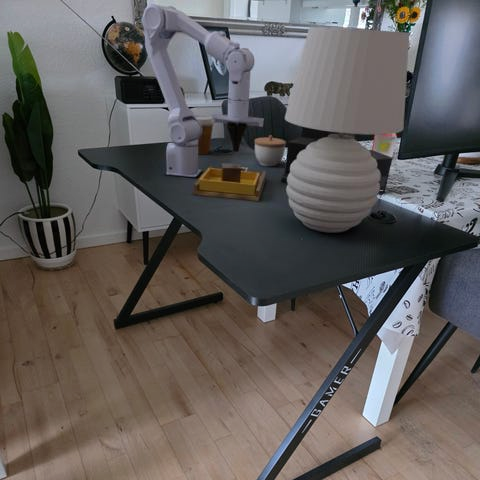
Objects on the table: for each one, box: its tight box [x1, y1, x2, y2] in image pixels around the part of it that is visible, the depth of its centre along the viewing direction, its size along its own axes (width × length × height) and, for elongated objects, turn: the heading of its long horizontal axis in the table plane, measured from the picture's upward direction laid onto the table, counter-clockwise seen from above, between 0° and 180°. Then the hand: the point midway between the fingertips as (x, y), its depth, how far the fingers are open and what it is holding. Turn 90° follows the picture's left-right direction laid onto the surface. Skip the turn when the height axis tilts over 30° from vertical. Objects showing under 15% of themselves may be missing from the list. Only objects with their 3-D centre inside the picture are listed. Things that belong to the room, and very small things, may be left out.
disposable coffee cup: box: [195, 114, 215, 155], centre depth 163 cm, size 10×10×12 cm
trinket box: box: [254, 134, 287, 167], centre depth 155 cm, size 11×11×9 cm
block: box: [220, 162, 242, 183], centre depth 126 cm, size 5×5×5 cm
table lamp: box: [284, 26, 410, 234], centre depth 99 cm, size 25×25×40 cm
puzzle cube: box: [371, 133, 398, 158], centre depth 178 cm, size 8×8×8 cm
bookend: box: [280, 126, 346, 183], centre depth 139 cm, size 23×11×24 cm, turn 149°
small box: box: [368, 149, 394, 195], centre depth 135 cm, size 11×6×10 cm, turn 23°
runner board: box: [193, 165, 267, 202], centre depth 131 cm, size 18×22×3 cm
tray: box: [198, 166, 261, 195], centre depth 129 cm, size 15×18×3 cm
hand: (236, 151), depth 131 cm, fingers closed
